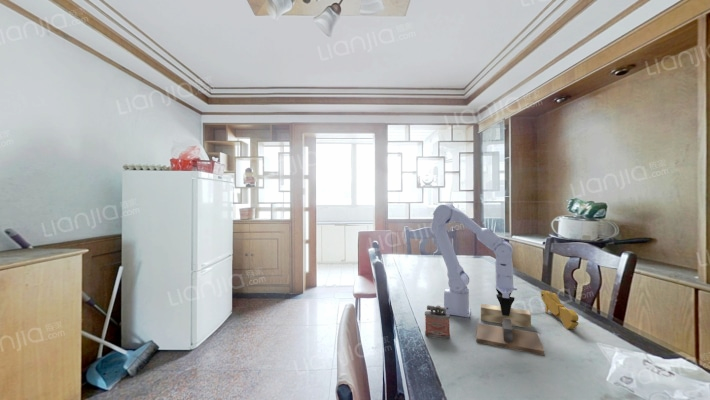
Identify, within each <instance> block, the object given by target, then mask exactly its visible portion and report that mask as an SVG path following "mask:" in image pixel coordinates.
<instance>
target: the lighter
mask: <svg viewBox="0 0 710 400" xmlns="http://www.w3.org/2000/svg"><path fill="white" fill-rule="evenodd" d="M424 316H425V317H424V318H425V330H424V335H425V337H428V338H433V339H439V340H450V339H451V334H450V319H451V314H447V313H446V308H444V306H443V307H441V305H436V306H435V305H427V306H426V311H425V312H424Z"/></svg>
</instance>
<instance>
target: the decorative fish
mask: <svg viewBox="0 0 710 400" xmlns="http://www.w3.org/2000/svg"><path fill="white" fill-rule="evenodd" d="M540 297H541V300H542V302H543V303H544V307H545V314H547V313H549V312H550V313H551V314H552V315H553V316H555V317H556V318H557V319H560V320H561V323H562V324H563V326H564V328H565V329H566V330H574V329H576V328H577V327H578V326H579V324H580V323H579V322H578V321H579V315H578V313H577V312H576V311H575V310H574V309H570V308H567V307H565V305H564V304H563V303H562V302H561V300H560V298H559V297H558V295H557V293H556V292H551V291H549V290H541V291H540Z"/></svg>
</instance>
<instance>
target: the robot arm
mask: <svg viewBox="0 0 710 400" xmlns="http://www.w3.org/2000/svg"><path fill="white" fill-rule="evenodd" d="M432 214H433V215H432V216H433V218H432V219H433V220H432V222H431V223H432V224H431V229H432V232H433V235H434V237H435V239H436V243H437V245H438V248H439V250H440V253H441V255H442V259H443V260H444V263H445V266H446V269H447V271H446V272H447V273H446V274H447V278H448V287H449V288H445V289H444V293H443V308H446V313H447V314H449V315H450V316H451V315H452V316H456V317H464V318H470V317H471V308H470V290H469V288H468V285H469V283H470V277H469V275H468V273H466V272H465V270H464V268H463V267H462V265H461V264H460V261H459V260H458V256H457V254H456V252H455V250H454V249H455V248H454V247H453V244H452V241H451V239H450V236H449V234H448V232H447V231H448V230H447V229H446V228H447V226H448V225H449V222H450V221H452V222H459V223H461V224H462V225H463V226H464V227H466V228H467V229H468V230H470V231H471V232H472V233H474V234H475V235H476V239H477V240H478V241H479V242H480V243H482V244H483V245H484V246H485V247H487V248H488V249H490V251H493V253H494V255H495V262H494V264H495V286H494V288H495V290H496V292H497V294H496V295H495V296H496V299H497V300H498V302H499V306H500V307H501V312H502V315H505V316H509V314H510V310H511V308H512V305H513V303H514V301H515V299H516V298H515V297H514V296H511V295H512V293H513V292H514V291H518V287H517V286H514V263H513V253H514V249H513V246H512V244H510V242H509V241H506V239H504V237H502V238H501V237H500V236H499V235H498V234H496V233H495V232H494V229H492V228H490V229H489V228H488V227H482V226H480V225H479V224H478V223H476V222H475V221H474V220H473V219H471V217H469V216H468V215H467V214H466V213H464V211H462V210H460V209H459V208H457V207H455V206H454V205H452V204H450V203H446V204H440V205H438V206H437V207H436V208H435V210H434V211H433V213H432Z"/></svg>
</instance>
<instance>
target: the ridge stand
mask: <svg viewBox="0 0 710 400" xmlns="http://www.w3.org/2000/svg"><path fill="white" fill-rule="evenodd" d="M502 323H503V324H502ZM502 323H501V324H502V326H499V325H493V324H487V323H480V322H477V326H476V327H477V328H476V343H479V344H484V345H489V346H494V347H499V348H504V349H509V350H515V351H521V352H526V353H531V354H536V355H541V356H545V350H544V347H543V345H542V342H541V340H540V336H539V333H538V332H535V331H527V330H522V329H517V328H513V325H511V320H510V319H503V318H502Z"/></svg>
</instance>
